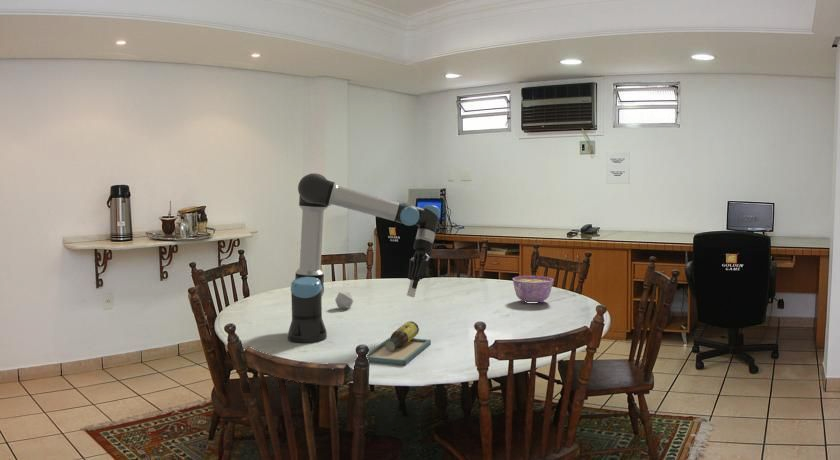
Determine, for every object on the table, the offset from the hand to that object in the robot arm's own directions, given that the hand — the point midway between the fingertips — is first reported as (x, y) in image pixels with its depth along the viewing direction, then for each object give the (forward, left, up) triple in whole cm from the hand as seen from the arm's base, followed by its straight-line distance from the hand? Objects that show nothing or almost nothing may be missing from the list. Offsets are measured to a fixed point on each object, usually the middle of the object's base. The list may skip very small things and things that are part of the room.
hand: (410, 296), depth 259 cm
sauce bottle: (-3, -11, -10) cm, 15 cm away
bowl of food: (+77, +35, -16) cm, 86 cm away
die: (-13, +57, -16) cm, 60 cm away
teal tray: (-14, -23, -15) cm, 31 cm away
